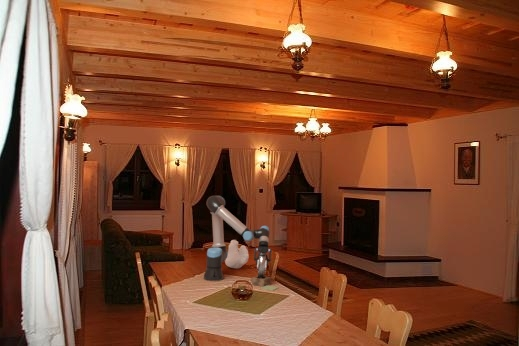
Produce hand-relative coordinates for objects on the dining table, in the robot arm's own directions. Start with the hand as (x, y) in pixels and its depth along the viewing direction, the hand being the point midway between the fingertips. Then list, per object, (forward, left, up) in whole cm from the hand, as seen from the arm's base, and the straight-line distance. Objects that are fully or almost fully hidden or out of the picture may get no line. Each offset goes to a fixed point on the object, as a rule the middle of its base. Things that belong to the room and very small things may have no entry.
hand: (261, 268), depth 302 cm
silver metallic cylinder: (-2, +3, -7) cm, 8 cm away
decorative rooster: (-49, +45, -13) cm, 68 cm away
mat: (+9, -4, -13) cm, 16 cm away
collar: (-2, +3, -13) cm, 13 cm away
